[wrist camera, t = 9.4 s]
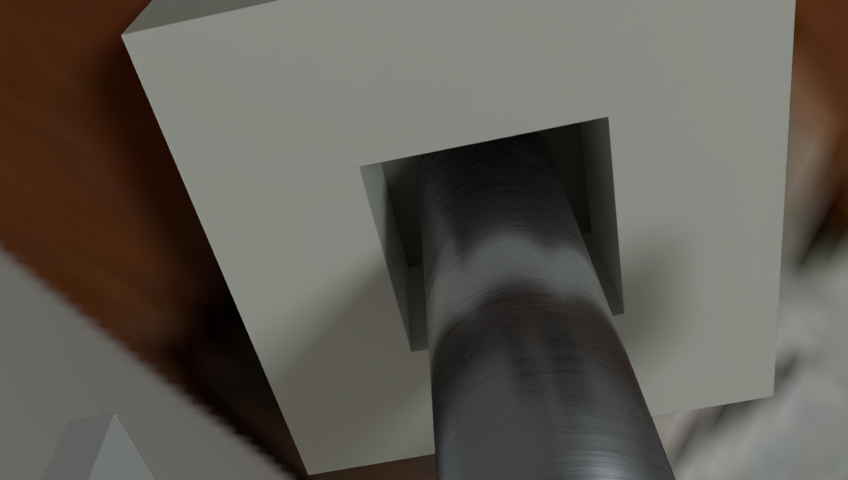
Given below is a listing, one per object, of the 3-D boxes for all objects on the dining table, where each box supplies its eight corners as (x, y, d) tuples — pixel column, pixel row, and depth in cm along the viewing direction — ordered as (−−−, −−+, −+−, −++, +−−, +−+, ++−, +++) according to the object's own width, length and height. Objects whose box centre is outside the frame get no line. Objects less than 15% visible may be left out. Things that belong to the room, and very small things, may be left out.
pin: (405, 126, 19) (422, 568, 9) (543, 98, 19) (723, 522, 9) (431, 241, 21) (471, 715, 11) (558, 217, 21) (721, 681, 10)
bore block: (173, -23, 17) (120, 35, 14) (717, -146, 16) (802, -115, 13) (320, 370, 24) (308, 475, 20) (716, 299, 23) (773, 395, 19)
